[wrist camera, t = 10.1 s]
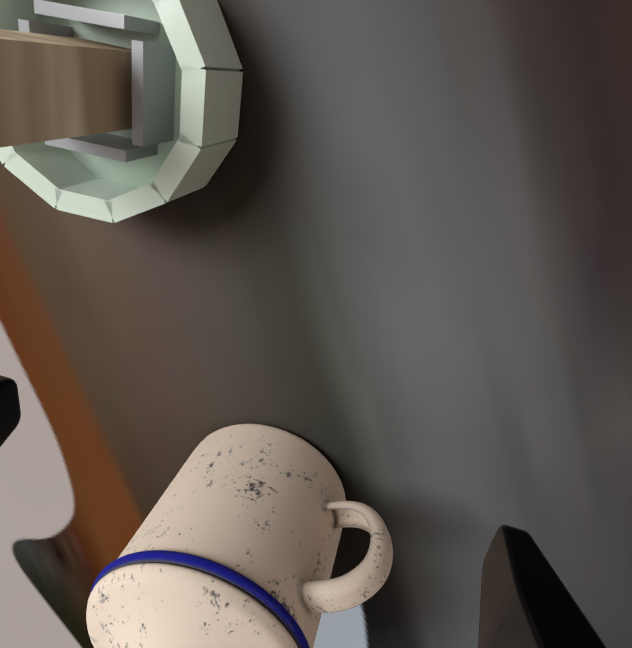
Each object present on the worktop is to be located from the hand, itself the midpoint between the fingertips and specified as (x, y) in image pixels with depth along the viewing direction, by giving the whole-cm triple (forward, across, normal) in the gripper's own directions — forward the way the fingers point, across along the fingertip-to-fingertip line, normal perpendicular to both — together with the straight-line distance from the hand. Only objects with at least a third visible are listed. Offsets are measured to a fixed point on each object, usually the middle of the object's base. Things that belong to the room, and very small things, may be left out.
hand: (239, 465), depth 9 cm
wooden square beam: (+12, +10, -4) cm, 16 cm away
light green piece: (+13, +10, -4) cm, 17 cm away
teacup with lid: (+13, +1, +13) cm, 19 cm away
